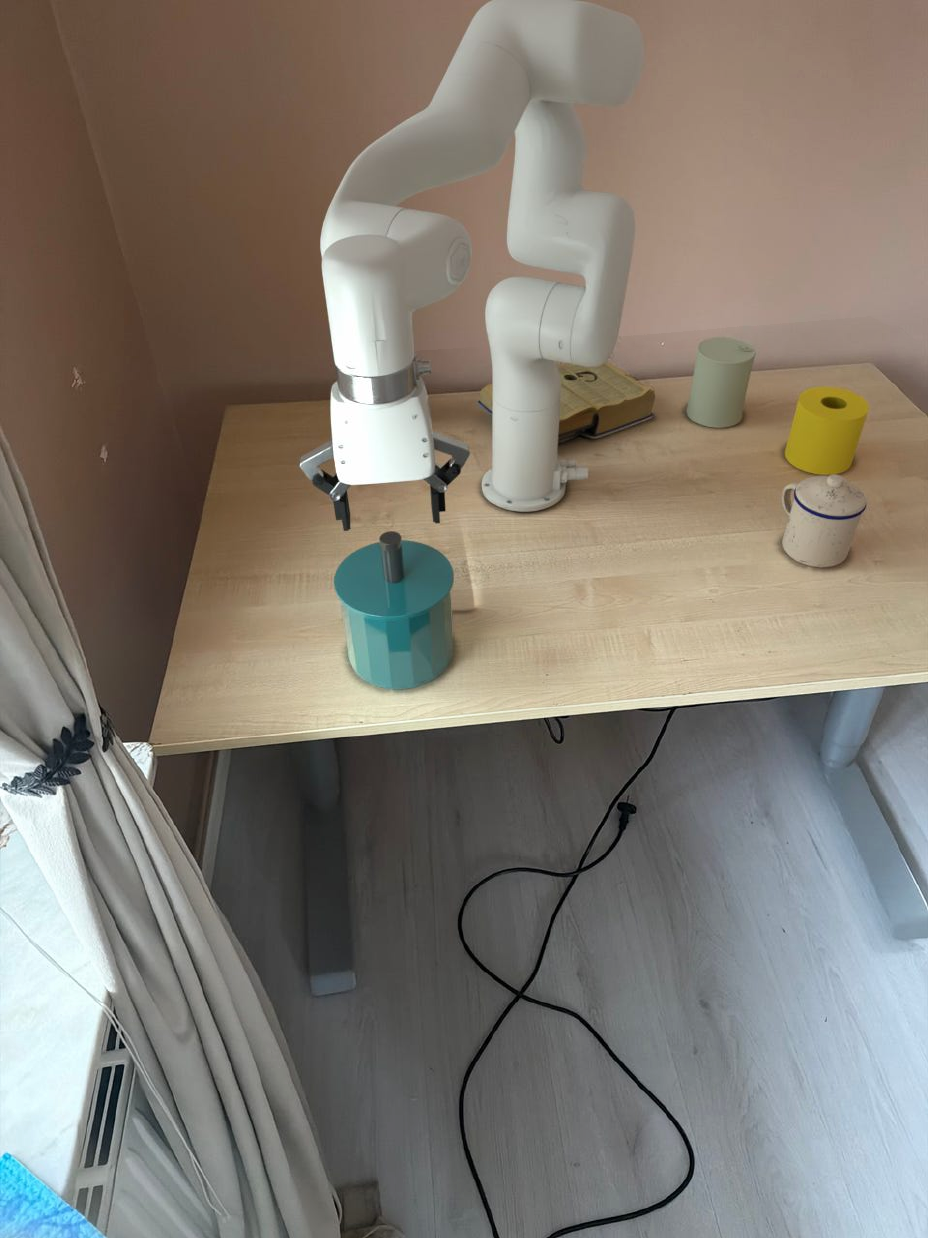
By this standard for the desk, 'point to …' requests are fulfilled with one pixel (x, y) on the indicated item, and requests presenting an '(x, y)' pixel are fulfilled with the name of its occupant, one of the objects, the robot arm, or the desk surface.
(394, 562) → the lid
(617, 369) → the book
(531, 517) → the desk surface
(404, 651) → the pot
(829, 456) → the yellow toilet paper roll
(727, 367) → the can
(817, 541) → the teacup with lid
